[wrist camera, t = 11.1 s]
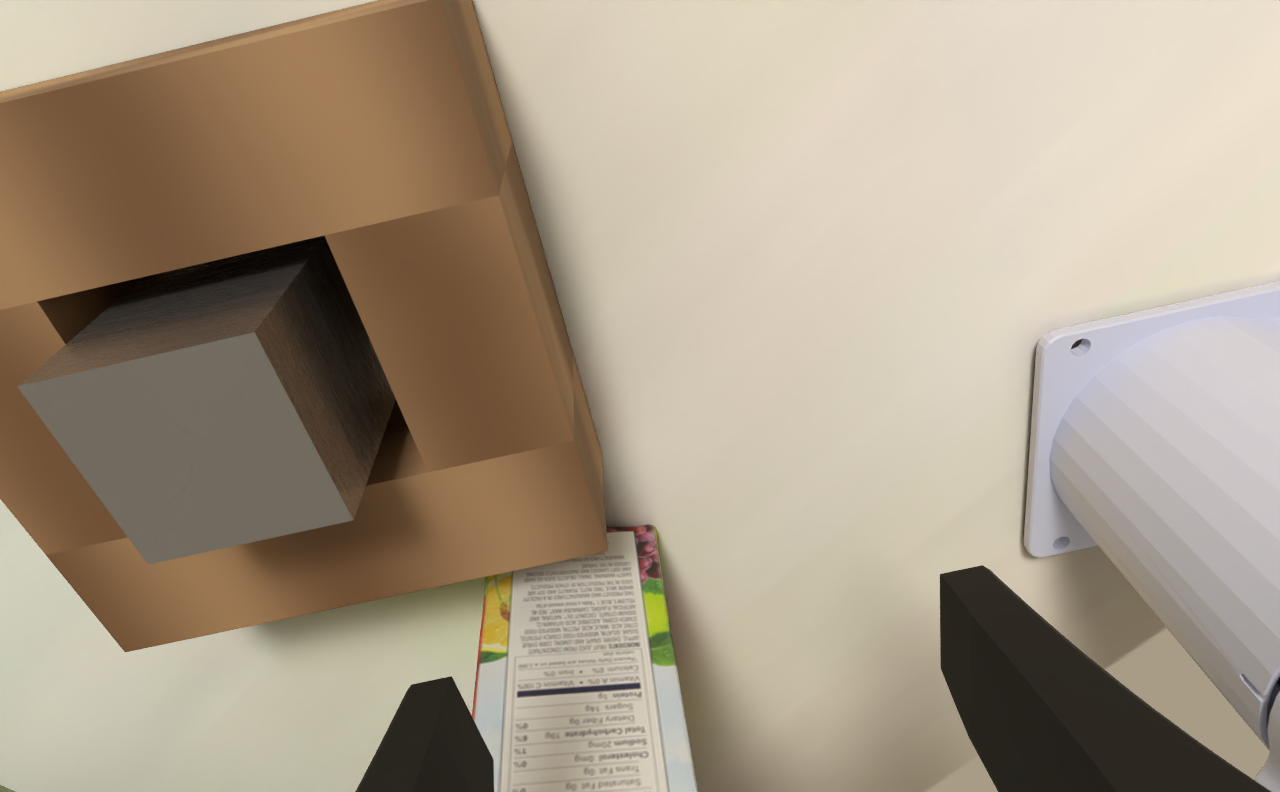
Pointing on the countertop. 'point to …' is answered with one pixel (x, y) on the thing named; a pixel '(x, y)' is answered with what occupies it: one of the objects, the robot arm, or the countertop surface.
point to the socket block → (372, 270)
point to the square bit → (222, 402)
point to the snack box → (583, 675)
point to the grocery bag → (5, 789)
